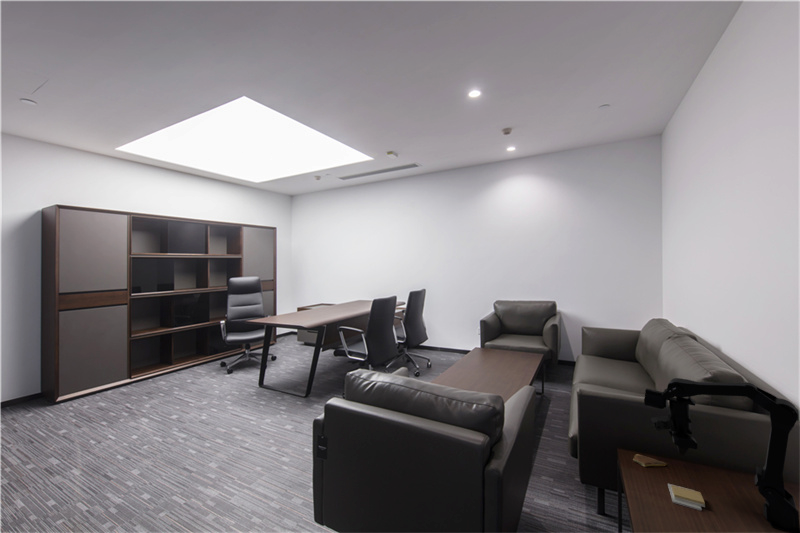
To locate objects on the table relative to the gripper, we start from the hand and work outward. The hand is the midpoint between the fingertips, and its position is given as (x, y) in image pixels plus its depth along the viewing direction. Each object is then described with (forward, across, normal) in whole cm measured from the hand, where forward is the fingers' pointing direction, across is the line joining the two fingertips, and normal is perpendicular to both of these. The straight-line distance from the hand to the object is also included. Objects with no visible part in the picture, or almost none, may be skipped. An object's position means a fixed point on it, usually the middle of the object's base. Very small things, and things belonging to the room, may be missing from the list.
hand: (681, 455), depth 119 cm
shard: (+13, -15, -10) cm, 22 cm away
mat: (+12, +6, -1) cm, 14 cm away
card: (+11, +3, 0) cm, 12 cm away
